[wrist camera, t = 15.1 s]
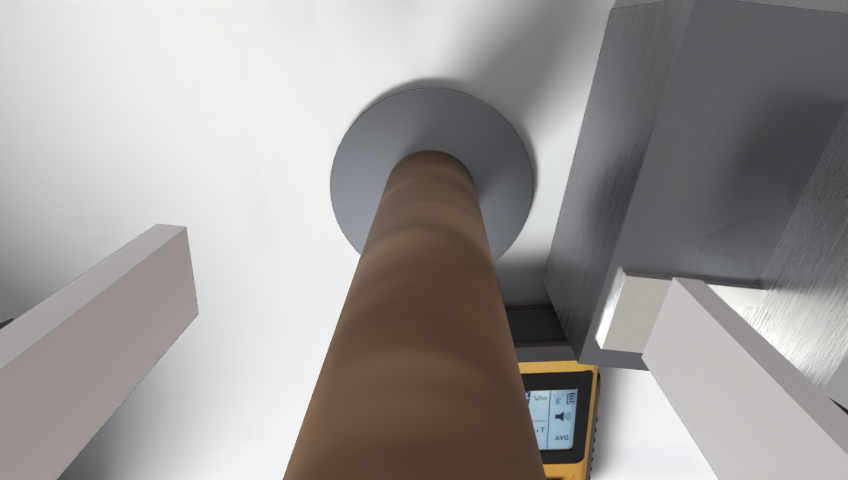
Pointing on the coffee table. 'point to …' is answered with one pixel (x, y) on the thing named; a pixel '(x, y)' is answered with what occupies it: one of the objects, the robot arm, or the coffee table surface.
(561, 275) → the box
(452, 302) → the brown cylinder with cap
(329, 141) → the coffee table surface
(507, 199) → the coaster
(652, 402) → the coffee table surface
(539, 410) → the electronic device
